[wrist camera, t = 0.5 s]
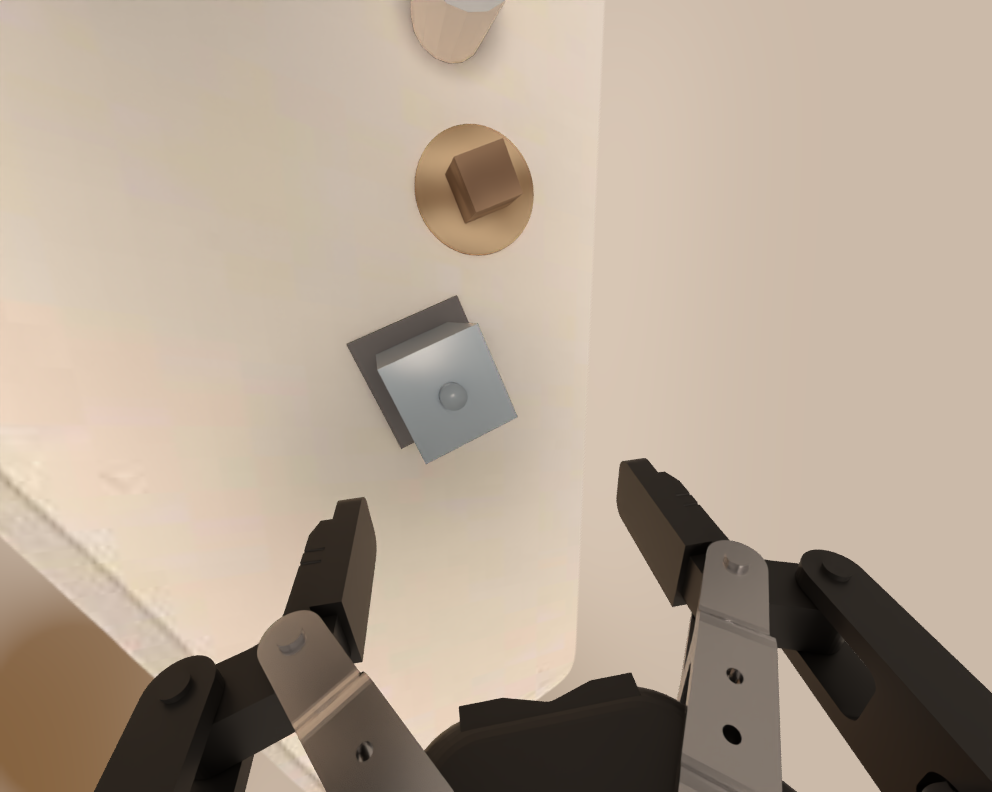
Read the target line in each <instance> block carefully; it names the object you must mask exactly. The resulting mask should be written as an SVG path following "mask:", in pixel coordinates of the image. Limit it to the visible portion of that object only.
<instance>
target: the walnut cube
mask: <svg viewBox="0 0 992 792" xmlns="http://www.w3.org/2000/svg"><path fill="white" fill-rule="evenodd" d="M445 176H446V178H447V181H448V183H449V186H450V188H451V191H452V193H453V196H454V198H455V201H456V203H457V205H458V208H459V210H460V213H461V215H462V218H463V220H464V223H465V224H466V223H469V222H471V221H473V220H476V219H478V218H481V217H483V216H486V215H488V214H490V213H493V212H495V211H498V210H500V209H503V208H505V207H507V206H509V205H510V204H511V203H512V202H513V201H515V200H516V199H517V198H518V197H519V196H521V195H522V194H523V191H522V189H521V186H520V183H519V180H518V178H517V175H516V172H515V169H514V167H513V164H512V161H511V158H510V156H509V153H508V150H507V147H506V145H505V142H504V139H503V138H502V139H499V140H496V141H494V142H491V143H488V144H486V145H483V146H480V147H478V148H475V149H473V150H470V151H467V152H465V153H462V154H459V155H457V156H454V157H453V159H452V161H451V163H450V165H449V167H448V169H447V171H446V173H445Z"/></svg>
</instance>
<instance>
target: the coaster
mask: <svg viewBox="0 0 992 792" xmlns="http://www.w3.org/2000/svg"><path fill="white" fill-rule="evenodd" d="M502 138H503V139H504V142H505V145H506V147H507V150H508V153H509V156H510V158H511V161H512V164H513V167H514V169H515V172H516V175H517V178H518V180H519V183H520V186H521V189H522V191H523V194H522V195H521V196H519V197H518V198H517V199H516V200H515V201H513V202H512V203H511V204H510V205H509V206H507V207H505V208H503V209H500V210H498V211H495V212H493V213H490V214H488V215H486V216H483V217H481V218H478V219H476V220H473V221H471V222H469V223H466V224H465V223H464V220H463V218H462V215H461V213H460V210H459V208H458V205H457V203H456V201H455V198H454V196H453V193H452V191H451V188H450V186H449V183H448V181H447V178H446V176H445V173H446V171H447V169H448V167H449V165H450V163H451V161H452V159H453V157H454V156H457V155H459V154H462V153H465V152H467V151H470V150H473V149H475V148H478V147H480V146H483V145H486V144H488V143H491V142H494V141H496V140H499V139H502ZM415 195H416V201H417V205H418V208H419V211H420V214H421V216H422V218H423V220H424V222H425V224H426V225H427V227H428V228H429V230H430V231H431V232H432V233H433V234H434V235H435V236H436V237H437V238H438V239H439V240H440V241H441V242H442V243H444V244H445V245H447V246H448V247H450V248H452V249H454V250H456V251H458V252H461V253H465V254H469V255H486V254H491V253H494V252H497V251H499V250H501V249H503V248H505V247H507V246H508V245H510V244H511V243H512V242H514V241H515V240H516V239H517V238H518V237H519V235H520V234H521V233H522V232H523V230H524V228H525V227H526V225H527V223H528V220H529V218H530V215H531V211H532V206H533V196H534V193H533V183H532V178H531V174H530V171H529V168H528V166H527V163H526V161H525V160H524V158H523V156H522V154H521V153H520V152H519V150H518V149H517V147H516V146H515V145H514V144H513V143H512V142H511V141H510V140H509V139H507V138H506V137H505V136H504V135H502V134H501V133H499V132H497V131H495V130H493V129H491V128H489V127H486V126H482V125H477V124H463V125H457V126H454V127H451V128H448V129H446V130H444V131H443V132H441V133H440V134H438V135H437V136H436V137H435V138H434V139H433V140H432V141H431V142H430V143H429V144H428V145H427V147H426V148H425V150H424V152H423V153H422V156H421V158H420V160H419V163H418V167H417V171H416V176H415Z"/></svg>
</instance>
